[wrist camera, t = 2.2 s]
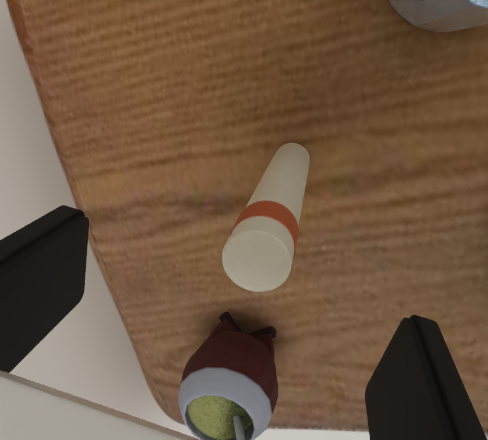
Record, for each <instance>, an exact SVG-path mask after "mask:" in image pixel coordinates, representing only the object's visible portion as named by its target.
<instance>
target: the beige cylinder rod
mask: <svg viewBox="0 0 488 440" xmlns="http://www.w3.org/2000/svg"><path fill="white" fill-rule="evenodd" d="M309 164H310V157H309V154H308V152H307V150H306V149H305V148H304V147H303V146H302V145H300V144H297V143H287V144H284V145H282V146H281V147H280V148H279V149H278V150H277V151H276V153H275V155H274V157H273V158H272V160H271V162H270V164H269V166H268V167H267V169H266V171H265V173H264V175H263V177H262V178H261V180H260V182H259V184H258V186H257V188H256V189H255V191H254V193H253V195H252V197H251V198H250V200H249V202H248V204H247V206H246V208H245V209H244V210H243V211H242V213H241V214H240V216H239V218H238V220H237V221H236V223H235V225H234V227H233V229H232V231H231V233H230V236H229V239H228V240H227V242H226V244H225V246H224V249H223V252H222V263H223V267H224V270H225V272H226V273H227V275H228V276H229V278H230V279H231V280H232V281H233V282H234V283H235V284H237V285H238V286H240V287H242V288H244V289H246V290H250V291H254V292H265V291H270V290H273V289H275V288H277V287H279V286H280V285H281V284H282V283H284V281H285V280H286V279H287V277H288V276H289V273H290V270H291V265H292V260H293V258H294V255H295V251H296V245H297V239H298V232H299V230H298V226H299V220H300V215H301V209H302V203H303V198H304V192H305V187H306V181H307V175H308V170H309Z"/></svg>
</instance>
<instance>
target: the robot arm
mask: <svg viewBox="0 0 488 440" xmlns="http://www.w3.org/2000/svg"><path fill="white" fill-rule="evenodd" d="M88 229H89V220H88V218H87V217H85V215H84V212H83V211H81V210H78V209H75V208H71V207H68V206H64V205H63V206H60V207H58V208H56V209H55V210H53V211H51V212H49V213H48V214H46V215H44V216H42V217H41V218H39V219H37V220H35V221H34V222H32V223H30V224H28V225H26V226H25V227H23V228H21V229H19V230H18V231H16V232H14V233H12V234H11V235H9V236H7V237H5V238H4V239H2V240H0V440H199V439H196V438H193V437H191V436H188V435H185V434H182V433H179V432H176V431H174V430H171V429H168V428H165V427H162V426H159V425H156V424H154V423H151V422H148V421H145V420H142V419H140V418H137V417H134V416H131V415H128V414H125V413H123V412H120V411H116V410H114V409H111V408H108V407H105V406H102V405H99V404H97V403H94V402H91V401H88V400H85V399H82V398H79V397H76V396H73V395H71V394H68V393H65V392H62V391H59V390H56V389H53V388H50V387H47V386H45V385H41V384H39V383H35V382H33V381H30V380H27V379H24V378H21V377H18V376H16V375H12V374H9V373H10V372H11V371H12V370H13V369H14V368H15V367H16V366H17V365H18V363H20V362H21V361H22V359H24V358H25V357H26V356H27V355H28V353H29V352H30V351H31V350H32V349H33V348H34V347H35V346H36V345H37V344H38V343H39V342H40V341H41V340H42V339H43V338H44V337H45V336H46V335H47V334H48V333H49V332H50V331H51V330H52V329H53V328H54V327H55V326H56V325H57V324H58V323H59V322H60V321H61V320H62V319H63V318H64V317H65V316H66V315H67V314H68V313H69V312H70V311H71V310H72V309H73V308H74V307H75V306H76V305H77V304H78V303H79V302H80V300H81V299H82V297H83V294H84V286H85V272H86V256H87V244H88ZM365 402H366V410H367V418H368V426H369V434H370V440H487V438H486V436H485V434H484V431H483V429H482V427H481V424H480V422H479V420H478V417H477V415H476V413H475V410H474V408H473V406H472V403H471V401H470V399H469V396H468V394H467V392H466V389H465V387H464V385H463V383H462V380H461V378H460V376H459V373H458V371H457V369H456V366H455V364H454V362H453V359H452V357H451V355H450V352H449V350H448V348H447V345H446V343H445V341H444V338H443V336H442V334H441V331H440V329H439V327H438V324H437V323H436V322H435V321H433V320H430V319H426V318H423V317H420V316H417V315H412V316H411V317H410V318H404V319H403V320H402V321H401V323H400V325H399V326H398V328H397V330H396V332H395V334H394V336H393V338H392V340H391V341H390V343H389V345H388V347H387V349H386V351H385V353H384V354H383V356H382V358H381V360H380V362H379V364H378V366H377V368H376V369H375V371H374V373H373V375H372V377H371V379H370V381H369V383H368V385H367V387H366V391H365Z"/></svg>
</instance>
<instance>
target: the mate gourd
mask: <svg viewBox="0 0 488 440" xmlns="http://www.w3.org/2000/svg"><path fill="white" fill-rule="evenodd" d="M220 320H221V321H222V322H221V323H220V324H219V325H218V326H217V327H216V328H215V329H214V330H213V332H212V333H211V335H210V337H209V338H208V340H206V341H205V342H204V343H203V344H202V345H201V347H200V348H199V349H198V350H197V351H196V352H195V353H194V354H193V355H192V357H191V358H190V359H189V361H188V362H187V364H186V366H185V369H184V372H183V376H182V381H181V385H180V391H179V395H178V401H179V407H180V410H181V413H182V417H183V420H184V423H185V425H186V426H187V427H188V428H189V430H190V431H191V432H192V434H193V435H195V436H196V437H197V438H199V439H200V440H254V439H255V438H256V437H258V436H259V435H260V434H261V433H262V432H263V431H264V430H266V428H267V426H268V424H269V421H270V419H271V416H272V413H273V411H274V408H275V405H276V402H277V398H278V383H277V376H276V366H275V363H274V347H273V342H272V338H274V337H276V331H275V329H274V328H273V327H272V326H271V327H268V328H265V329H262V330H259V331H257V332H254V333H251V334H245V333H243V332H242V331H241V329H240V328H239V326H238V325H237V324H236V322H235V321H234V319H233V318H232V316H231V315H230V314H229V313H228V312H226V313H223V314H222V315H221V316H220Z"/></svg>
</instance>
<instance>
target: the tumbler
mask: <svg viewBox="0 0 488 440" xmlns="http://www.w3.org/2000/svg"><path fill="white" fill-rule="evenodd" d="M389 2H390V4H391V5H392V6H393V8H394V9H395V11H396V12H397V13H398V14H399V15H400V16H401V17H402V18H403V19H405V20H406V21H408V22H409V23H411V24H412V25H414V26H416V27H419V28H422V29H425V30H429V31H435V32H441V33H442V32H443V33H445V32H451V31H457V30H463V29H469V28H475V27H480V26H485V25H488V0H389Z"/></svg>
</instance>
